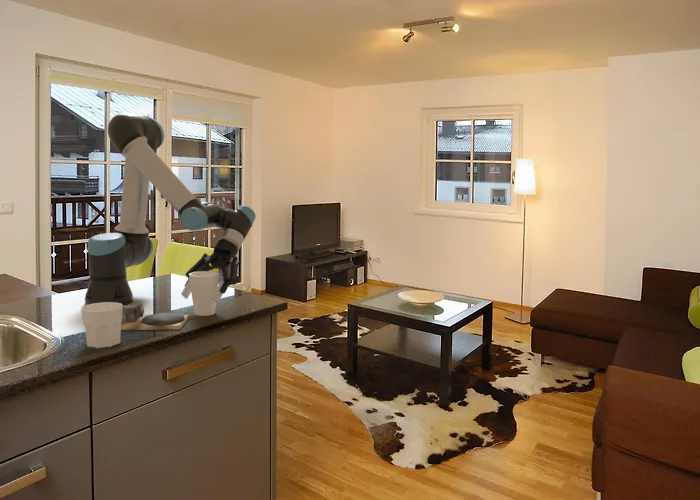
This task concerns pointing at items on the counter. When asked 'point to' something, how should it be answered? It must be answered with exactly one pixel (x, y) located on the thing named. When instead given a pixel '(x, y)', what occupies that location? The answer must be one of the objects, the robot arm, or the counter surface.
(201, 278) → the foam cup
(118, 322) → the cup
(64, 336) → the counter surface
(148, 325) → the shaft stand
